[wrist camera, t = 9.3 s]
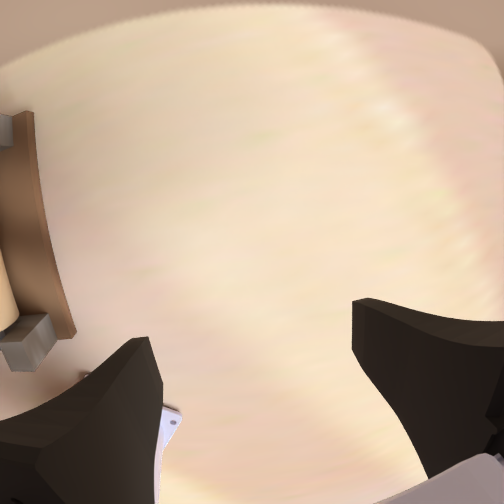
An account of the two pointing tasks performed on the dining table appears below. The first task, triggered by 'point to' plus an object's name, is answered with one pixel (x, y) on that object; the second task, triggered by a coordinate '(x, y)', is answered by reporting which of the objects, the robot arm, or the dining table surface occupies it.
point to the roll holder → (28, 251)
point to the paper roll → (6, 301)
